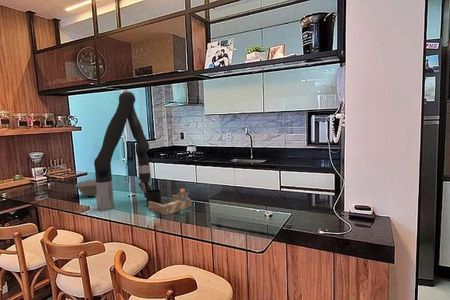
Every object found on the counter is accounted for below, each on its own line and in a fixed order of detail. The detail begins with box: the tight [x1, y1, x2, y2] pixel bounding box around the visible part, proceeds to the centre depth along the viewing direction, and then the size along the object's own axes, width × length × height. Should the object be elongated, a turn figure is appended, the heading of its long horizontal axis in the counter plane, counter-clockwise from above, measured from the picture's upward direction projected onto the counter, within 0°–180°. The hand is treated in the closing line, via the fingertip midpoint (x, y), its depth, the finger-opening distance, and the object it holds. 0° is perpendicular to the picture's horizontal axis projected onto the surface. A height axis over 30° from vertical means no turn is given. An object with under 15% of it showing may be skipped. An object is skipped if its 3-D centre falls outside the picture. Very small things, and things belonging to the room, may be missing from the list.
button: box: [179, 188, 186, 194], centre depth 173 cm, size 3×3×4 cm
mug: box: [145, 188, 163, 207], centre depth 185 cm, size 9×12×9 cm
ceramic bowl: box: [75, 179, 97, 197], centre depth 216 cm, size 22×23×10 cm
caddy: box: [147, 192, 192, 216], centre depth 175 cm, size 19×17×9 cm
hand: (146, 197), depth 192 cm, fingers closed
